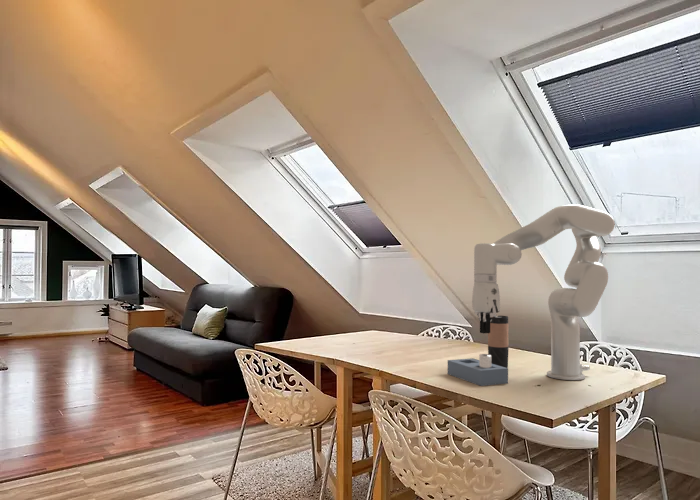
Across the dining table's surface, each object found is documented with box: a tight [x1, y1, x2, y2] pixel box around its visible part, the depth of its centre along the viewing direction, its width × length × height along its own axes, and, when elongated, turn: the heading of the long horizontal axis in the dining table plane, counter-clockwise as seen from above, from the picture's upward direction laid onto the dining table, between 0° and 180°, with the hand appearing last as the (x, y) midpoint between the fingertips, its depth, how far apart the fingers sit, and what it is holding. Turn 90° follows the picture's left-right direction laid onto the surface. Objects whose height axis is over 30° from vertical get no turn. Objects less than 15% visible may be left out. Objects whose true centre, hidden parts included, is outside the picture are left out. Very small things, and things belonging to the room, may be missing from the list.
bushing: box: [478, 353, 491, 369], centre depth 180 cm, size 4×4×9 cm
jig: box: [447, 357, 509, 387], centre depth 185 cm, size 11×20×5 cm, turn 22°
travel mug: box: [487, 315, 510, 369], centre depth 203 cm, size 8×8×20 cm
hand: (485, 332), depth 181 cm, fingers closed
